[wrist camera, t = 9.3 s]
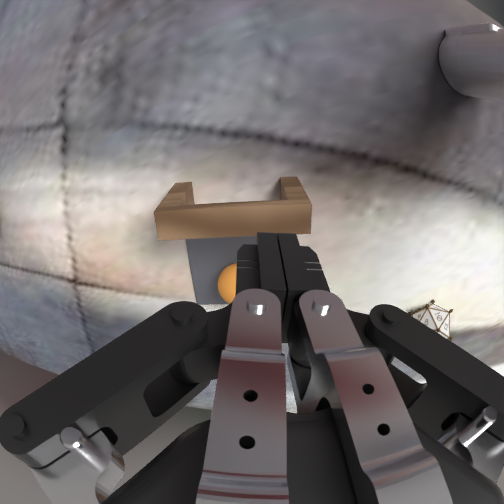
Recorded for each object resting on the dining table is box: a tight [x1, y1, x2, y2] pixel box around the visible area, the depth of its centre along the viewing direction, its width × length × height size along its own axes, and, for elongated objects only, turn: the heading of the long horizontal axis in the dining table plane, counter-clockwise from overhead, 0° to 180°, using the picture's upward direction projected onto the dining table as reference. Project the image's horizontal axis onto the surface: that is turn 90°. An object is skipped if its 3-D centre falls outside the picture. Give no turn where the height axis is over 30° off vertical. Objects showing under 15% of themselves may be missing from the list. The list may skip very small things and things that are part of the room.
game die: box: [408, 299, 453, 340], centre depth 43 cm, size 9×8×10 cm
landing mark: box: [186, 236, 256, 304], centre depth 40 cm, size 14×14×1 cm
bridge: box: [154, 177, 312, 240], centre depth 32 cm, size 3×15×9 cm, turn 93°
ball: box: [218, 263, 237, 304], centre depth 39 cm, size 6×6×6 cm
